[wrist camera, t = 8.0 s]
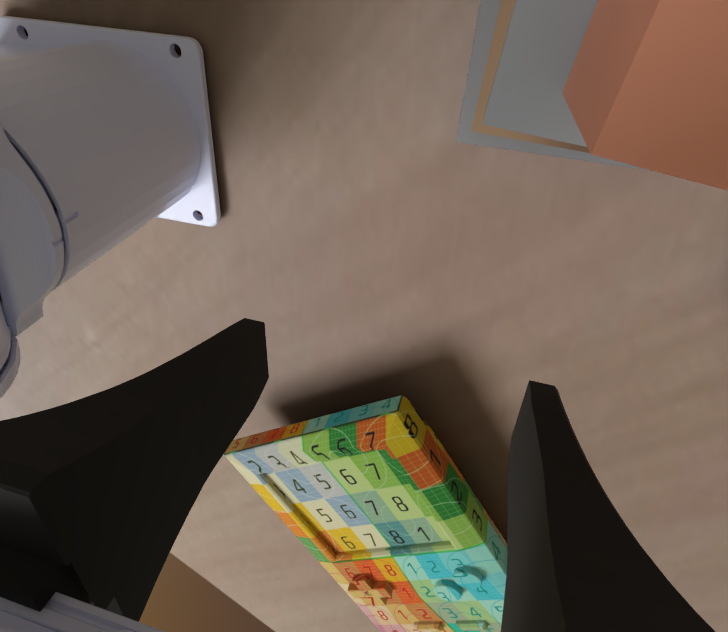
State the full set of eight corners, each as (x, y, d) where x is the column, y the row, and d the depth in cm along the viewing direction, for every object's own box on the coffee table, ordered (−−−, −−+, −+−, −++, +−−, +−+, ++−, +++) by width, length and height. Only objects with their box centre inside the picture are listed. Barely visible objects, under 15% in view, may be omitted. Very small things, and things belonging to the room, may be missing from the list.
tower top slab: (486, 108, 16) (482, 124, 15) (555, -145, 13) (560, -159, 11) (681, 150, 16) (700, 171, 14) (813, -104, 12) (858, -114, 10)
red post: (562, 92, 14) (590, 154, 9) (636, -98, 11) (733, -161, 6) (715, 131, 13) (835, 219, 8) (824, -57, 11) (1077, -90, 6)
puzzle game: (389, 652, 37) (216, 466, 29) (401, 587, 40) (251, 408, 33) (553, 653, 31) (393, 424, 23) (550, 578, 35) (412, 359, 27)
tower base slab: (460, 127, 21) (455, 141, 19) (516, -182, 15) (515, -198, 14) (702, 161, 19) (718, 180, 18) (854, -167, 14) (897, -183, 12)
